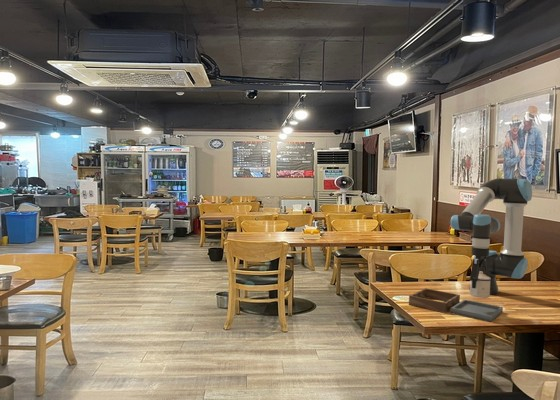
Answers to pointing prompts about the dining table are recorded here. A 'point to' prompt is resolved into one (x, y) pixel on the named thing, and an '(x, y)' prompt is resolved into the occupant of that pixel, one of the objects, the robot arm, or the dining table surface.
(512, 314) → the dining table surface
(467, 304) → the charcoal tray
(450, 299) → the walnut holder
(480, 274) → the teacup with lid
